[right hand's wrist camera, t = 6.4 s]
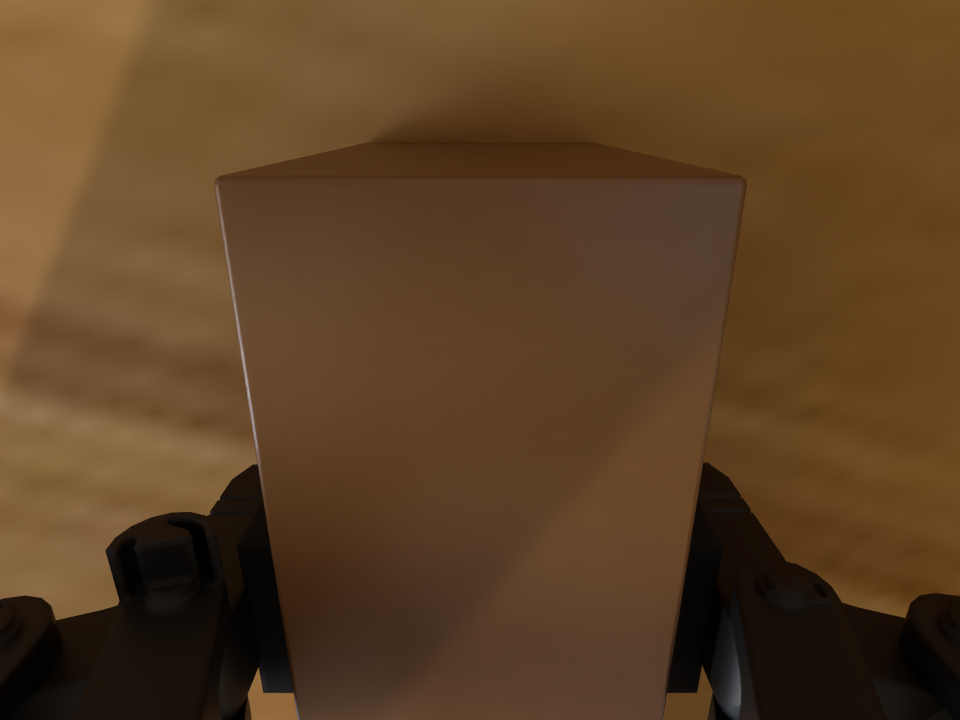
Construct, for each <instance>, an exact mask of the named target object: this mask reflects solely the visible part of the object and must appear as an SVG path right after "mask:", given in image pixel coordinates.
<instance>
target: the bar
mask: <svg viewBox="0 0 960 720" xmlns="http://www.w3.org/2000/svg"><path fill="white" fill-rule="evenodd" d="M746 187H747V184H746V179H745V178H743V177H741V176H738V175H734V174H729V173H725V172H721V171H716V170H712V169H707V168H703V167H698V166H694V165H690V164H685V163H681V162H676V161H672V160H668V159H663V158H659V157H654V156H650V155H645V154H641V153H637V152H632V151H628V150H623V149H619V148H614V147H610V146H606V145H601V144H597V143H364V144H359V145H355V146H350V147H346V148H342V149H337V150H333V151H328V152H324V153H319V154H315V155H311V156H306V157H302V158H297V159H293V160H289V161H284V162H280V163H275V164H271V165H267V166H262V167H258V168H253V169H249V170H244V171H240V172H236V173H231V174H227V175H222V176H220V177H218V178H216V179H215V182H214V189H215V195H216V201H217V208H218V214H219V221H220V227H221V233H222V240H223V246H224V252H225V259H226V265H227V272H228V278H229V284H230V291H231V297H232V303H233V310H234V316H235V322H236V329H237V335H238V342H239V348H240V354H241V361H242V367H243V373H244V380H245V386H246V392H247V399H248V405H249V412H250V418H251V424H252V431H253V437H254V443H255V450H256V456H257V462H258V469H259V475H260V482H261V488H262V494H263V501H264V507H265V513H266V520H267V526H268V532H269V539H270V545H271V552H272V558H273V564H274V571H275V577H276V583H277V590H278V596H279V602H280V609H281V615H282V622H283V628H284V634H285V641H286V647H287V653H288V660H289V666H290V673H291V679H292V685H293V692H294V698H295V704H296V711H297V717H298V720H663V714H664V708H665V701H666V695H667V688H668V682H669V676H670V669H671V663H672V657H673V650H674V644H675V638H676V631H677V625H678V619H679V612H680V606H681V600H682V593H683V587H684V581H685V574H686V568H687V561H688V555H689V549H690V542H691V536H692V530H693V523H694V517H695V511H696V504H697V498H698V492H699V485H700V479H701V473H702V466H703V460H704V454H705V447H706V441H707V435H708V428H709V422H710V415H711V409H712V403H713V396H714V390H715V384H716V377H717V371H718V365H719V358H720V352H721V346H722V339H723V333H724V327H725V320H726V314H727V308H728V301H729V295H730V289H731V282H732V276H733V269H734V263H735V257H736V250H737V244H738V238H739V231H740V225H741V219H742V212H743V206H744V200H745V193H746Z"/></svg>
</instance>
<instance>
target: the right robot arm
mask: <svg viewBox="0 0 960 720" xmlns="http://www.w3.org/2000/svg"><path fill="white" fill-rule="evenodd" d="M750 510H751V509H750V508H749V506H748V505H747V504H746V502H745V501H744V499H743V498H741V495H740V493H739V492H738V490H737V489H736V488H735V486H734V485H733V483H732V482H731V480H730V479H729V478H728V477H727V476H726V475H724V474H723V473H721V472H720V471H719V470H717V469H716V468H714V467H713V466H712V465H710V464H709V463H703V466H702V473H701V479H700V485H699V492H698V498H697V504H696V511H695V517H694V523H693V530H692V536H691V542H690V549H689V555H688V561H687V568H686V574H685V581H684V587H683V593H682V600H681V606H680V612H679V619H678V625H677V631H676V638H675V644H674V650H673V657H672V663H671V669H670V676H669V682H668V688H667V693H697V690H698V684H699V679H700V673H701V668H702V665H703V668H704V670H705V673H706V675H707V678H708V680H709V683H710V685H711V688H712V690H713V694H712V699H711V704H710V709H709V715H708V720H960V597H959V596H953V595H946V594H938V593H934V594H927V595H921V596H919V597H917V598H916V599H915V600H914V601H913V602H911V603H910V606H909V609H908V612H907V615H906V618H902V617H898V616H893V615H889V614H884V613H880V612H876V611H871V610H867V609H862V608H858V607H855V606H851V605H848V604H845V603H842V602H841V600H840V598H839V597H838V595H837V594H836V592H835V591H834V589H833V588H832V586H830V585H829V584H828V583H827V582H825V581H824V580H823V579H822V578H821V577H819V576H818V575H817V574H815V573H813V572H811V571H809V570H807V569H805V568H803V567H801V566H799V565H797V564H793V563H790V562H786V560H785V559H784V557H783V556H782V554H781V553H780V551H779V550H778V549H777V547H776V546H775V544H774V543H773V541H772V540H771V538H770V537H769V535H768V534H767V533H766V531H765V530H764V528H763V527H762V525H761V524H760V522H759V521H758V520H757V518H756V517H755V515H754V514H753V513H751V511H750ZM106 554H107V558H108V561H109V565H110V568H111V572H112V575H113V579H114V582H115V586H116V590H117V593H118V597H119V600H120V601H119V604H118V606H114V607H111V608H108V609H104V610H100V611H96V612H91V613H87V614H83V615H78V616H74V617H69V618H65V619H61V620H56V619H55V616H54V613H53V610H52V607H51V605H49V604H48V603H47V602H46V601H45V600H43V599H42V598H38V597H31V596H19V597H12V598H4V599H1V600H0V720H251V711H250V704H249V699H248V692H249V689H250V687H251V684H252V682H253V679H254V677H255V674H256V672H257V669H258V667H259V671H260V676H261V682H262V687H263V693H294V692H293V685H292V679H291V673H290V666H289V660H288V653H287V647H286V641H285V634H284V628H283V622H282V615H281V609H280V602H279V596H278V590H277V583H276V577H275V571H274V564H273V558H272V552H271V545H270V539H269V532H268V526H267V520H266V513H265V507H264V501H263V494H262V488H261V482H260V475H259V469H258V465H252V466H250V467H249V468H248V469H246V470H245V471H243V472H242V473H241V474H239V475H238V476H236V477H235V478H234V479H232V480H231V482H230V483H229V485H228V486H227V488H226V489H225V491H224V492H223V494H222V495H221V496H220V500H218V501H217V502H216V504H215V505H214V507H213V508H212V510H211V511H210V515H207V517H206V516H204V515H200V514H196V513H192V512H177V513H168V514H164V515H160V516H156V517H152V518H149V519H147V520H145V521H142V522H140V523H138V524H136V525H133V526H131V527H130V528H128V529H127V530H126V531H124V532H123V533H121V534H120V535H119V536H117V537H116V538H115V539H114V540H113V542H112V543H111V544H110V545H109V547H108V548H107V549H106Z"/></svg>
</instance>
